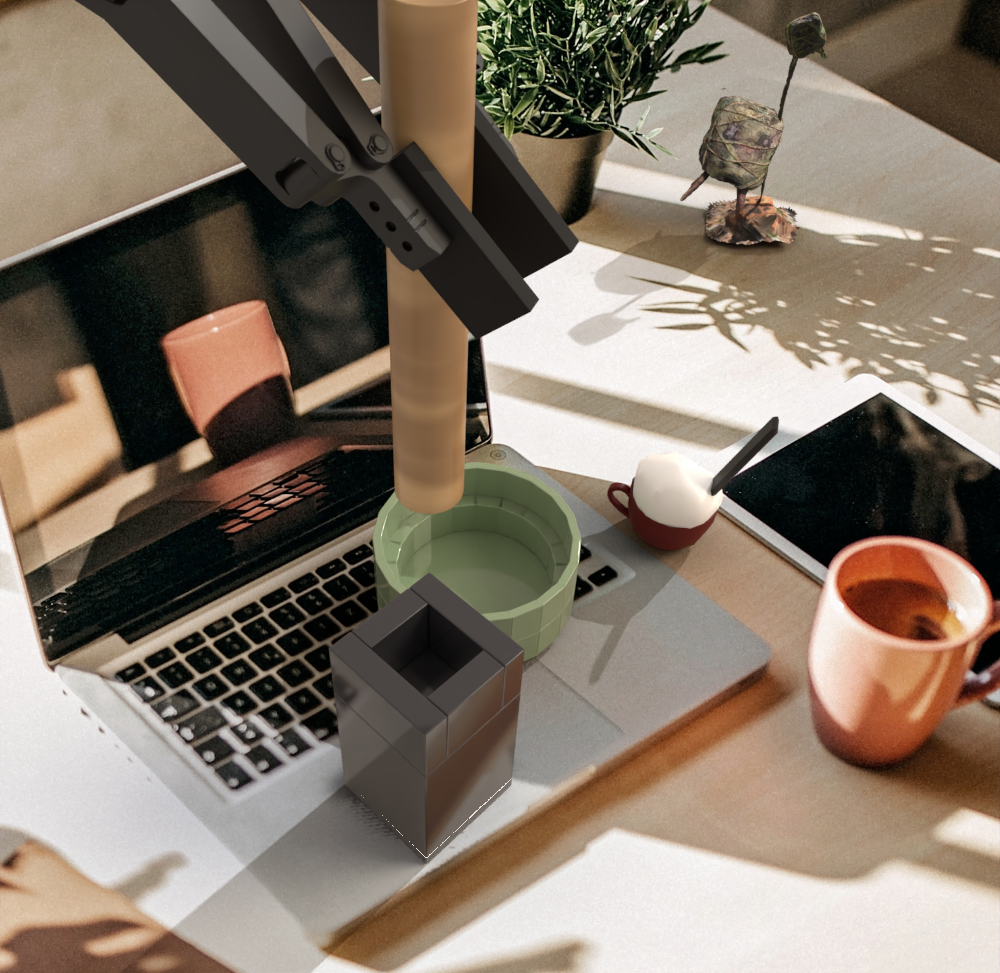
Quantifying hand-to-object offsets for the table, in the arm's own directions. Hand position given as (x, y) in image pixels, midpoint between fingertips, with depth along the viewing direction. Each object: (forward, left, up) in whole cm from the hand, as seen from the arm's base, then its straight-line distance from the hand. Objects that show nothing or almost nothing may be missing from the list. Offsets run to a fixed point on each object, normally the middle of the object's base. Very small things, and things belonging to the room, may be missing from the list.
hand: (527, 288), depth 40 cm
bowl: (+10, +11, -37) cm, 40 cm away
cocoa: (+24, +5, -37) cm, 45 cm away
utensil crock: (-2, +3, -37) cm, 37 cm away
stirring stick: (-1, +4, -12) cm, 13 cm away
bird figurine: (+59, +25, -37) cm, 74 cm away
